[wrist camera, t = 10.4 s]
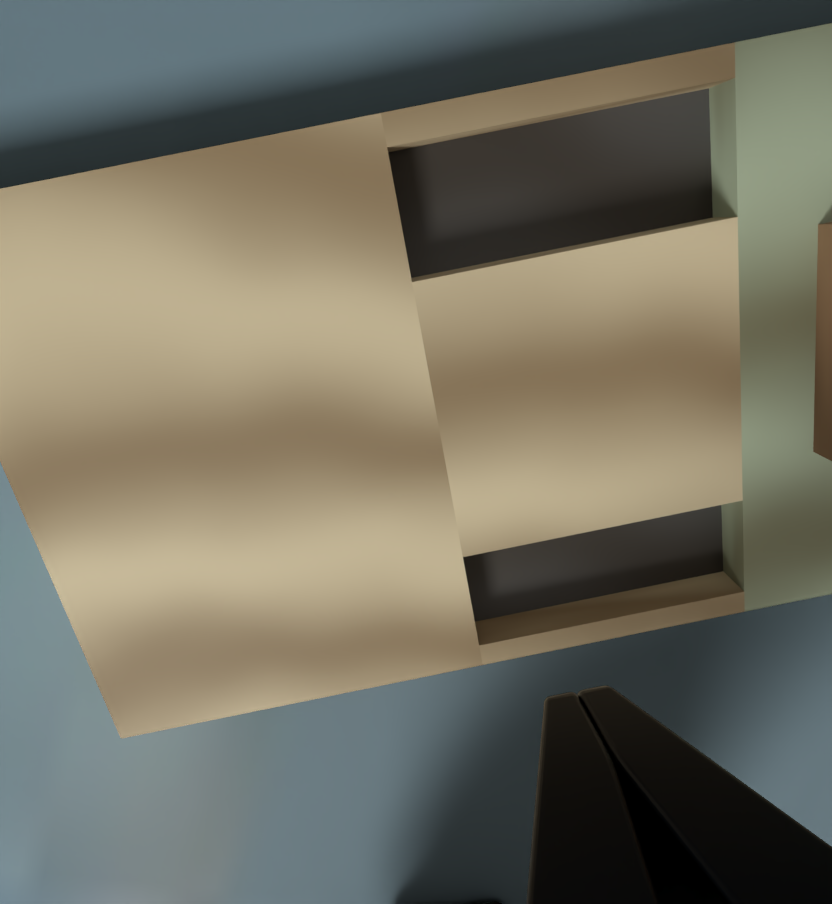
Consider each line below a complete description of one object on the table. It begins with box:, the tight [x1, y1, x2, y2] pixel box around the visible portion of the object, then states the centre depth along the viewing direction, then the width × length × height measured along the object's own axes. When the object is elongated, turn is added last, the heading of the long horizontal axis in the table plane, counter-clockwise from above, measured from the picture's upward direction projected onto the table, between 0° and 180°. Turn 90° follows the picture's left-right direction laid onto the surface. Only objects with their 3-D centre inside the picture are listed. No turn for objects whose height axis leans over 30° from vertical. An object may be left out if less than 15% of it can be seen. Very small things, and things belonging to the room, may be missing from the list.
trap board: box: [0, 23, 832, 738], centre depth 16 cm, size 15×28×5 cm, turn 101°
